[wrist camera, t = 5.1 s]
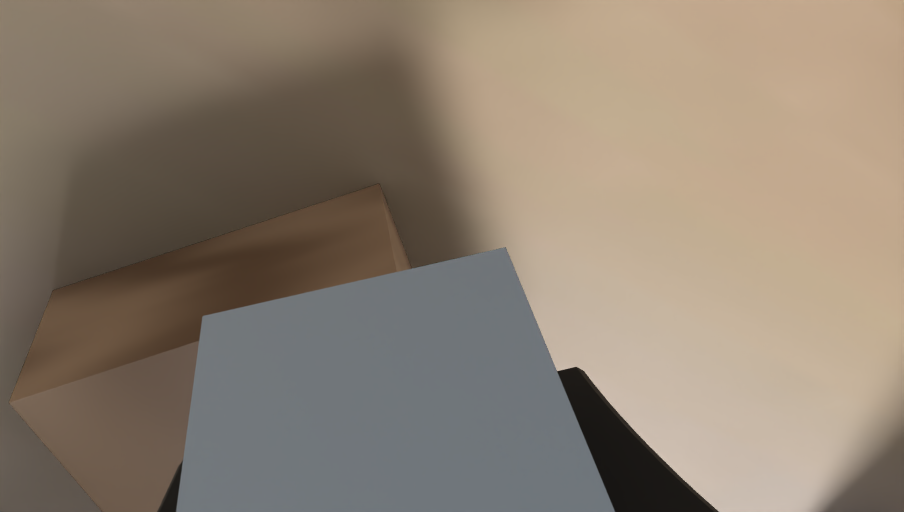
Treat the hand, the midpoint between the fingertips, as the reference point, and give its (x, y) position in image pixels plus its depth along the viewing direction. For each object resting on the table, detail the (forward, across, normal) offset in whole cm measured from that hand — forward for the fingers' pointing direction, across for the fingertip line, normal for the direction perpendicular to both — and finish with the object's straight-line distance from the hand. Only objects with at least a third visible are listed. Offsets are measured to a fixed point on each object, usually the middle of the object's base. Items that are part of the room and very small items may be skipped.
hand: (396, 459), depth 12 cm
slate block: (+1, 0, 0) cm, 1 cm away
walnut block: (+9, +3, +4) cm, 10 cm away
